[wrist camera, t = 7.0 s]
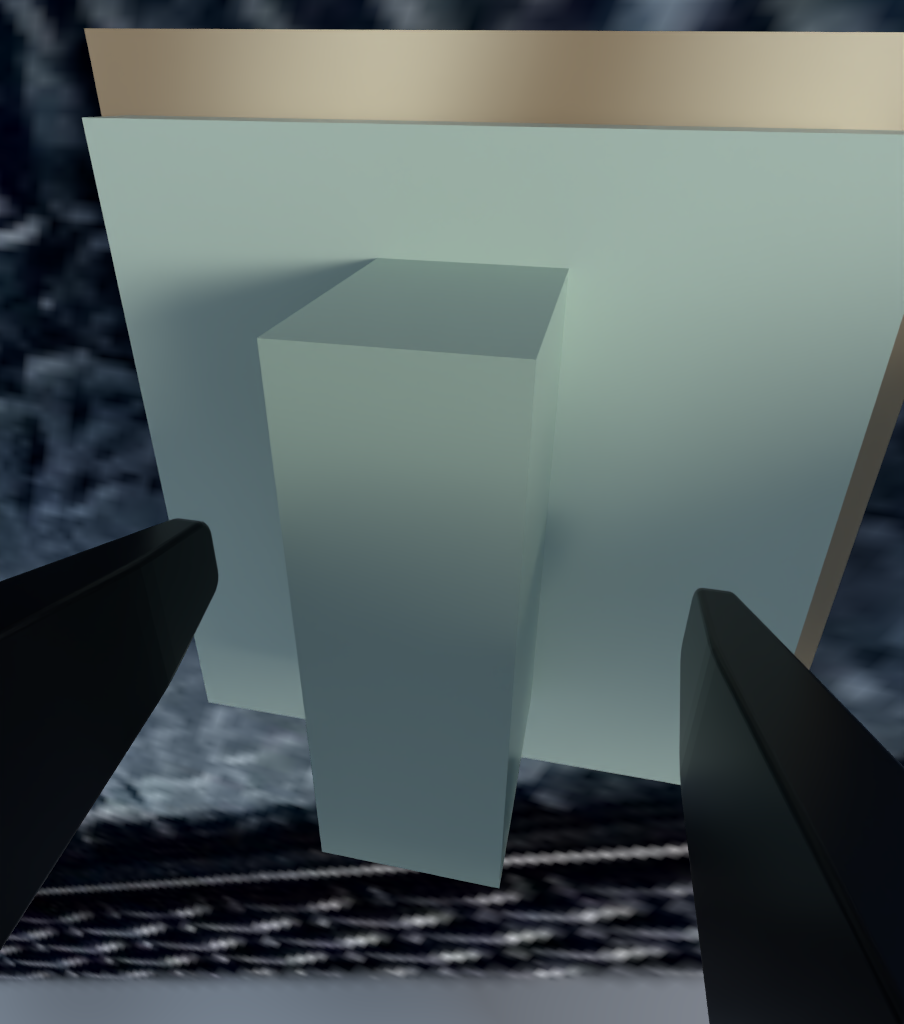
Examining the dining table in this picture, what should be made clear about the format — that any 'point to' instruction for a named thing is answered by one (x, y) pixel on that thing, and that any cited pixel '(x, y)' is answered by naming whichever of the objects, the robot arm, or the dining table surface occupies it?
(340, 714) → the lid
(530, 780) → the dining table surface
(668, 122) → the board
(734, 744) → the robot arm
